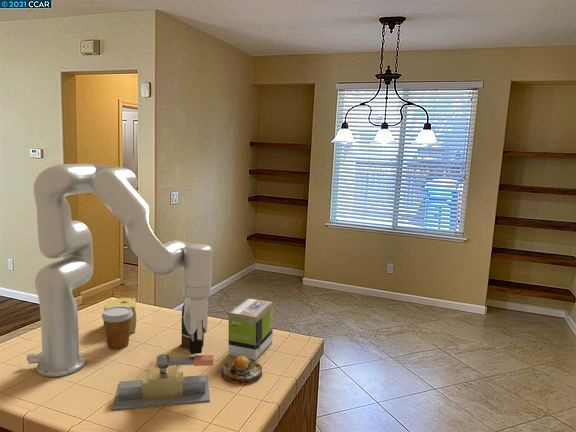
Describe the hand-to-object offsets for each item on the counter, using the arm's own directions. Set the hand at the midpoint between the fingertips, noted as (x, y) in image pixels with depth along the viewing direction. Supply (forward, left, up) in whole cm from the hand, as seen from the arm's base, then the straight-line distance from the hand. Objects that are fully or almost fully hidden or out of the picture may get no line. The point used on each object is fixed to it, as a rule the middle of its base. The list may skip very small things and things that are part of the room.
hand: (195, 352), depth 121 cm
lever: (-3, -6, -1) cm, 6 cm away
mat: (-8, -4, -9) cm, 13 cm away
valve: (-8, -5, -9) cm, 13 cm away
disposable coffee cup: (-24, +27, -9) cm, 37 cm away
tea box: (+19, +19, -9) cm, 28 cm away
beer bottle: (0, +24, -9) cm, 25 cm away
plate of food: (+14, +3, -9) cm, 17 cm away
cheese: (-25, +41, -9) cm, 49 cm away
